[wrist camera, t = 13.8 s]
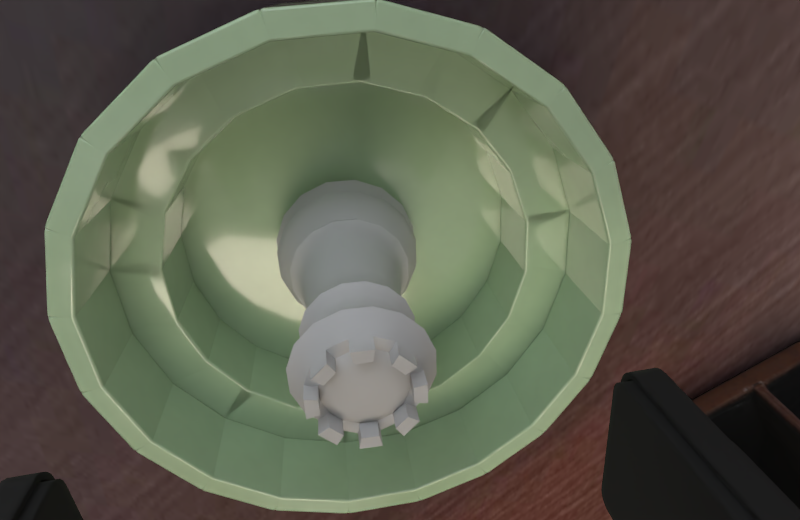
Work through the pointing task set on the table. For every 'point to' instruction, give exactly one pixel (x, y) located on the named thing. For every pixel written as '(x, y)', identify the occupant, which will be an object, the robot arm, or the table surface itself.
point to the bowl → (257, 247)
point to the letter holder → (763, 416)
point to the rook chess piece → (354, 312)
